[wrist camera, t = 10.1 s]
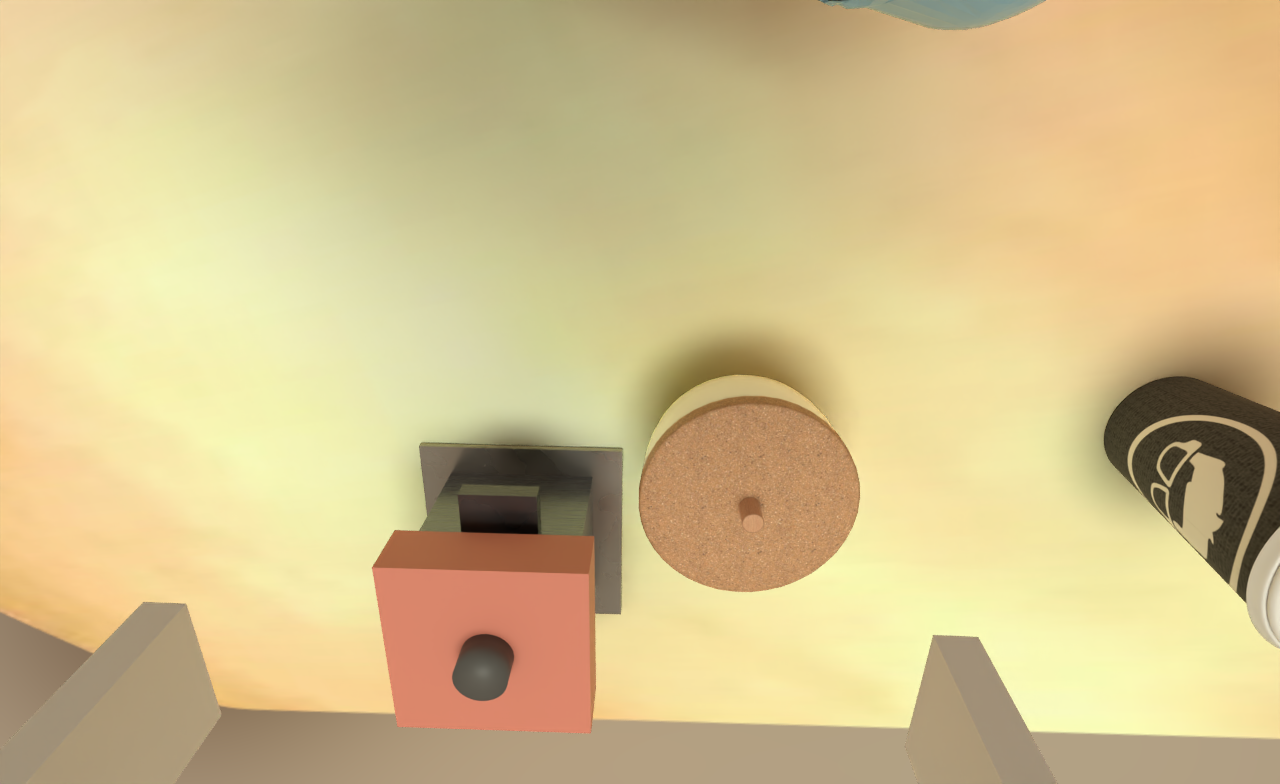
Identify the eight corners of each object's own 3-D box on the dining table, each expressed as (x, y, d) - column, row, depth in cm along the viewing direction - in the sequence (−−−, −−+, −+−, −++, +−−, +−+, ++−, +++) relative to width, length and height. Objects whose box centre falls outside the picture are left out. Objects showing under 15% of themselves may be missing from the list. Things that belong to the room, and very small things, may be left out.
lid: (394, 530, 35) (358, 590, 31) (594, 536, 35) (585, 597, 31) (416, 682, 39) (386, 753, 35) (595, 687, 39) (587, 760, 35)
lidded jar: (648, 515, 44) (645, 619, 35) (635, 352, 39) (629, 425, 31) (823, 507, 43) (864, 611, 34) (829, 341, 39) (877, 412, 30)
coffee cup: (1140, 528, 43) (1367, 733, 29) (1041, 436, 41) (1237, 611, 27) (1286, 421, 40) (1616, 593, 26) (1188, 315, 38) (1493, 443, 24)
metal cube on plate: (419, 433, 42) (371, 502, 35) (622, 438, 42) (615, 509, 34) (441, 612, 47) (402, 704, 40) (621, 617, 47) (614, 711, 40)
